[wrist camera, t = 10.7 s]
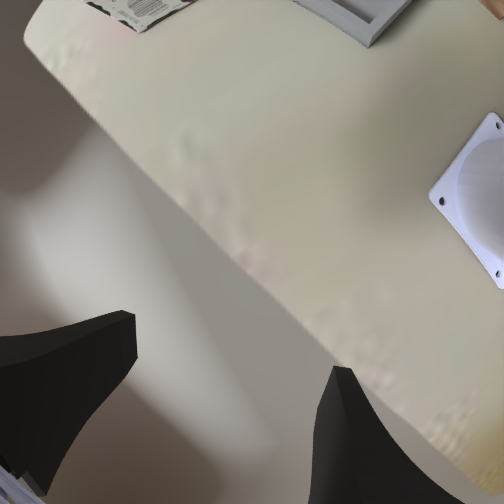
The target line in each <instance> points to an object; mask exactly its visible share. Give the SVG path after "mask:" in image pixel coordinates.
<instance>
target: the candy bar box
mask: <svg viewBox="0 0 504 504" xmlns="http://www.w3.org/2000/svg"><path fill="white" fill-rule="evenodd" d="M80 1H82V2H84V3H87V4H89V5H90V6H92V7H94V8H96V9H98V10H100V11H102V12H103V13H105V14H107V15H109V16H110V17H112V18H114V19H115V20H118V21H119V22H121V23H123V24H124V25H126V26H128V27H129V28H131V29H133V30H134V31H136V32H137V33H142V32H143V31H145V30H147V29H148V28H150V27H151V26H153V25H154V24H156V23H157V22H159V21H161V20H162V19H164V18H166V17H168V16H170V15H171V14H173V13H175V12H177V11H179V10H181V9H182V8H184V7H185V6H187V5H189V4H191V3H192V0H80Z"/></svg>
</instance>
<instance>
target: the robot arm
mask: <svg viewBox="0 0 504 504" xmlns="http://www.w3.org/2000/svg"><path fill="white" fill-rule="evenodd" d="M496 122H497V123H498V125H499V129H498V128H497V127H496ZM441 197H443V199H444V203H443V204H442V205H440V204H439V199H440V198H441ZM429 199H430V200H431V202H432V203H433V204H434V205H435V206H436V207H437V208H438V210H439V211H440V212H441V213H442V214H443V215H444V216H445V218H446V219H447V220H448V221H449V222H450V223H451V225H452V226H453V227H454V228H455V229H456V231H457V232H458V233H459V234H460V236H461V237H462V238H463V239H464V241H465V242H466V243H467V244H468V246H469V247H470V248H471V250H472V251H473V252H474V254H475V255H476V256H477V257H478V259H479V260H480V262H481V263H482V264H483V266H484V267H485V268H486V270H487V271H488V273H489V274H490V275H491V277H492V278H493V280H494V281H495V283H496V284H497V286H498V287H499V288H501V289H504V123H503V122H502V121H501V119H500V118H499V117H498V116H497V115H496V114H495V113H493V112H492V113H488V114H487V115H486V117H485V118H484V120H483V121H482V122H481V124H480V125H479V127H478V128H477V130H476V131H475V132H474V134H473V135H472V136H471V138H470V139H469V141H468V142H467V143H466V145H465V146H464V147H463V149H462V150H461V151H460V153H459V154H458V155H457V157H456V158H455V159H454V160H453V162H452V163H451V164H450V166H449V167H448V168H447V169H446V171H445V172H444V173H443V174H442V176H441V177H440V178H439V179H438V181H437V182H436V183H435V184H434V186H433V187H432V188H431V189H430V191H429ZM498 270H499V273H498V275H496V272H497V271H498ZM137 358H138V356H137V341H136V321H135V314H132V313H129V312H126V311H123V310H120V311H115V312H111V313H108V314H105V315H101V316H98V317H95V318H92V319H88V320H85V321H82V322H78V323H76V324H72V325H68V326H64V327H60V328H56V329H53V330H49V331H44V332H39V333H33V334H26V335H16V336H1V337H0V504H9V503H8V496H9V497H10V498H11V499H13V500H14V501H15V502H16V503H17V504H45V503H44V502H43V501H41V500H40V499H39V498H38V497H36V496H39V497H40V496H41V497H42V496H46V495H47V492H48V490H49V488H50V485H51V483H52V481H53V478H54V476H55V474H56V472H57V470H58V468H59V466H60V464H61V462H62V460H63V458H64V457H65V455H66V452H67V451H68V450H69V448H70V446H71V445H72V443H73V441H74V440H75V438H76V436H77V435H78V433H79V432H80V430H81V429H82V427H83V426H84V424H85V423H86V421H87V420H88V419H89V418H90V417H91V415H92V414H93V413H94V412H95V411H96V409H97V408H98V407H99V406H100V405H101V404H102V403H103V402H104V401H105V399H106V398H107V397H108V396H109V395H110V394H111V393H112V392H113V391H114V389H115V388H116V387H117V386H118V385H119V384H120V383H121V382H122V380H123V379H124V378H125V376H126V375H127V374H128V372H129V371H130V369H131V368H132V366H133V365H134V363H135V361H136V360H137ZM9 473H10V474H11V475H12V476H13V477H14V478H13V477H12V476H11V475H10V474H9ZM16 479H17V480H18V481H19V482H21V483H22V484H23V485H24V486H25V487H27V488H28V489H29V490H30V491H31V492H33V493H34V494H35V495H36V496H35V495H33V494H32V493H31V492H30V491H29V490H27V489H26V488H25V487H24V486H23V485H21V484H20V483H19V482H18V481H17V480H16ZM7 495H8V496H7ZM308 504H465V503H463V502H461V501H460V500H458V499H457V498H455V497H453V496H452V495H450V494H449V493H448V492H446V491H445V490H444V489H442V488H441V487H440V486H439V485H437V484H436V483H435V482H434V481H432V480H431V479H430V478H429V477H428V476H427V475H426V474H424V472H423V471H421V469H419V468H418V467H417V466H416V465H415V464H414V463H413V462H412V461H411V460H410V458H409V457H408V456H407V455H406V454H405V453H404V452H403V450H402V449H401V448H400V447H399V446H398V444H397V443H396V442H395V441H394V439H393V438H392V437H391V436H390V434H389V433H388V431H387V430H386V428H385V427H384V425H383V424H382V422H381V421H380V419H379V418H378V416H377V415H376V413H375V411H374V410H373V408H372V406H371V404H370V403H369V401H368V399H367V397H366V395H365V394H364V392H363V390H362V388H361V386H360V384H359V382H358V380H357V378H356V376H355V375H354V373H353V371H352V369H351V368H345V367H339V366H333V369H332V372H331V374H330V377H329V380H328V382H327V385H326V388H325V391H324V393H323V395H322V398H321V400H320V403H319V405H318V408H317V415H316V420H315V427H314V435H313V458H312V476H311V489H310V496H309V501H308Z"/></svg>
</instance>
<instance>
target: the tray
mask: <svg viewBox="0 0 504 504" xmlns="http://www.w3.org/2000/svg"><path fill="white" fill-rule="evenodd" d="M291 1H293V2H295V3H297V4H299V5H301V6H302V7H304V8H306V9H308V10H310V11H311V12H313V13H315V14H316V15H318V16H320V17H321V18H323V19H325V20H326V21H328V22H330V23H331V24H333V25H334V26H336V27H337V28H339V29H340V30H342V31H344V32H345V33H346V34H348V35H349V36H351V37H352V38H354V39H355V40H357V41H358V42H359V43H361V44H362V45H364V46H365V47H366V48H369V47H370V45H371V44H372V43H373V42H374V41H375V40H376V39H377V38H378V37H379V36H380V35H381V34H382V33H383V31H384V30H385V29H386V28H387V27H388V26H389V25H390V24H391V23H392V22H393V21H394V20H395V19H396V18H397V17H398V16H399V15H400V14H401V12H402V11H403V10H404V9H405V8H406V7H407V6H408V5H409V4H410V3H411V2H412V1H413V0H291Z"/></svg>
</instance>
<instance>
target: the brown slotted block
mask: <svg viewBox="0 0 504 504" xmlns="http://www.w3.org/2000/svg"><path fill="white" fill-rule="evenodd" d="M479 1H480V2H481V3H482V4H483V5H484V6H485V7H486V8H488V9H489V10H490V11H491V12H492V13H493V14H494V15H495V16H496V17H497V18H498V19H499V20H500V19H501V18H502V17H503V16H504V0H479Z"/></svg>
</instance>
